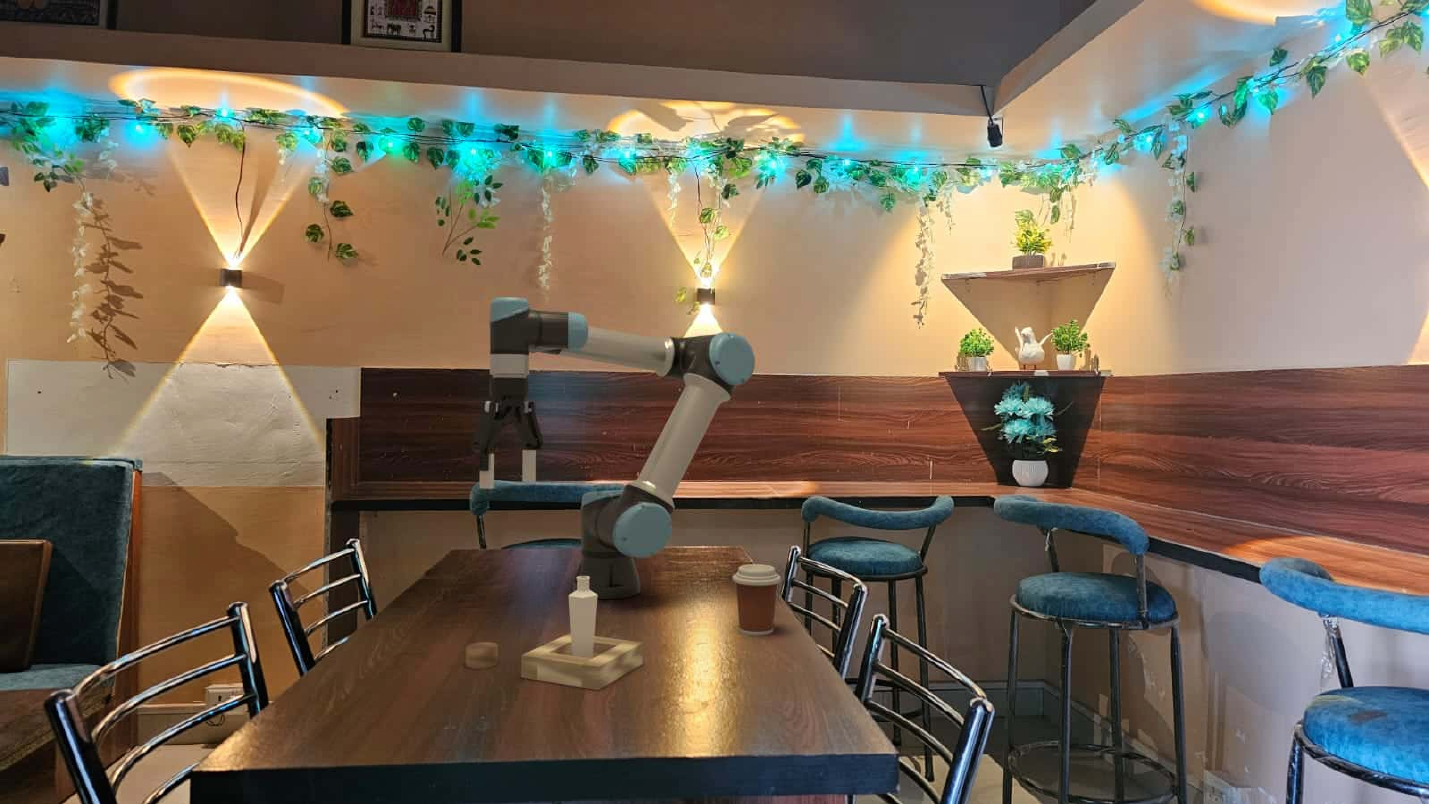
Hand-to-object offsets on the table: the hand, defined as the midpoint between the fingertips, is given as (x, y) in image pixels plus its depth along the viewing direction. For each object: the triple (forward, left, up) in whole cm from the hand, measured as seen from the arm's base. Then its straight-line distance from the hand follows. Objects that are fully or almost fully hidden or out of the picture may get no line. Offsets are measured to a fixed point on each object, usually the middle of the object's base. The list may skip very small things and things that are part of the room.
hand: (508, 485), depth 166 cm
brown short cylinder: (+24, +13, -27) cm, 38 cm away
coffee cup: (-14, +47, -27) cm, 56 cm away
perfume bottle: (+20, +30, -27) cm, 45 cm away
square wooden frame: (+20, +30, -27) cm, 45 cm away
